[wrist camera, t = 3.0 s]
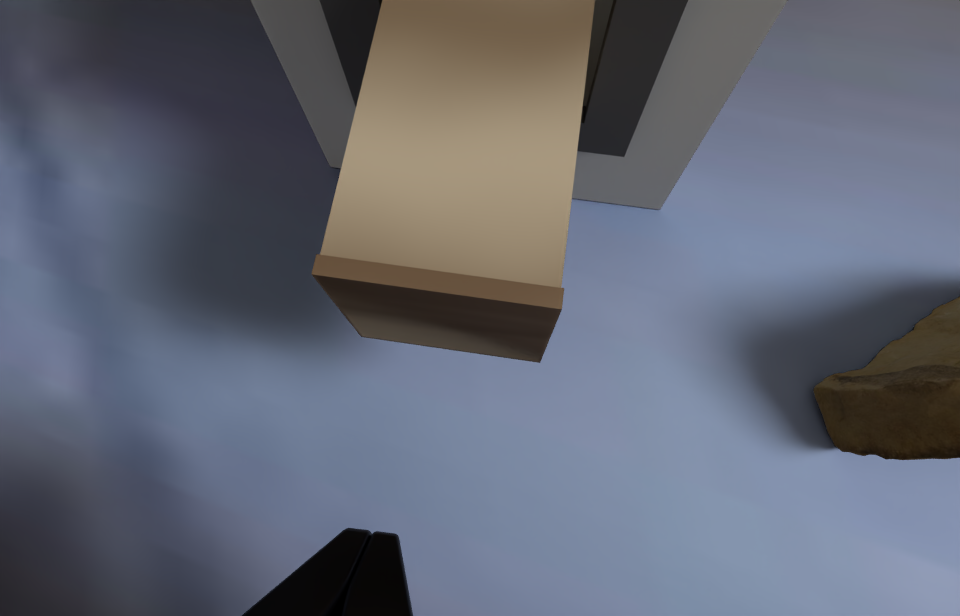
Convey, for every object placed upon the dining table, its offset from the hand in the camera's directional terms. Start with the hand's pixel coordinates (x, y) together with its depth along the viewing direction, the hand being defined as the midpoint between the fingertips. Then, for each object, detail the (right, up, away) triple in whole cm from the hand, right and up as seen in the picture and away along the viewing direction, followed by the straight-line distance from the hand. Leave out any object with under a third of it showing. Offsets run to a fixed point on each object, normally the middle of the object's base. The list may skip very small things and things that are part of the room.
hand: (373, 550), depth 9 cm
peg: (+2, +8, +8) cm, 12 cm away
